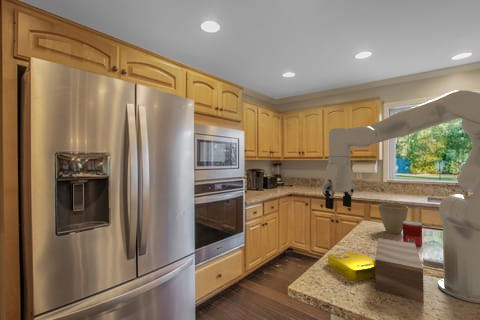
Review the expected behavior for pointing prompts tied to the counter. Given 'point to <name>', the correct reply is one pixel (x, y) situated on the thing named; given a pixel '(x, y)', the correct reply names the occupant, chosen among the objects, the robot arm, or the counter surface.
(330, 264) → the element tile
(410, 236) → the canned food
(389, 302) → the counter surface
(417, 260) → the brown wooden block
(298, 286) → the counter surface
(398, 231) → the plant pot
